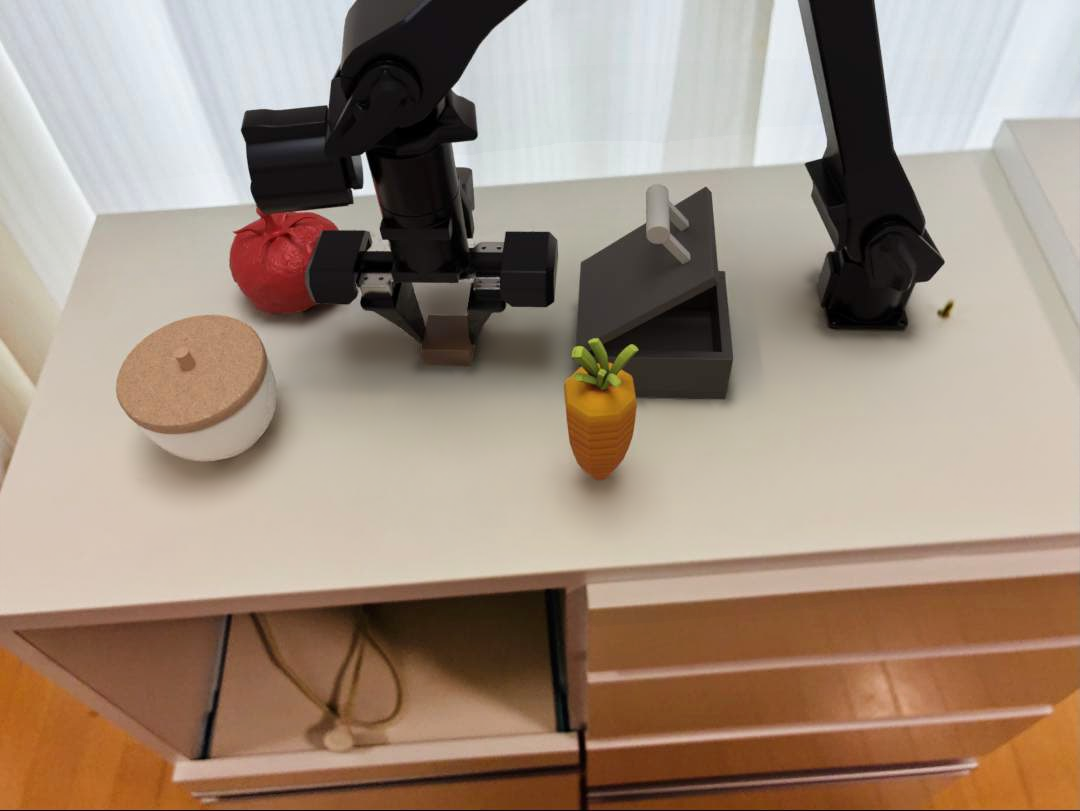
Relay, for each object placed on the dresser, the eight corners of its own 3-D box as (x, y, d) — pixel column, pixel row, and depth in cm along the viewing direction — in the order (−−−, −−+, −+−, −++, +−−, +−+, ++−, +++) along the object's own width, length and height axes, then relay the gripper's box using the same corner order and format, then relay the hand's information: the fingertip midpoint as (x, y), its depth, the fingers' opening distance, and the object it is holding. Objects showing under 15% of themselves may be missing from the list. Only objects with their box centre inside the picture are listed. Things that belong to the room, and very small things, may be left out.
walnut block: (476, 331, 71) (474, 315, 70) (471, 366, 69) (468, 350, 67) (431, 330, 72) (427, 314, 70) (424, 365, 69) (420, 349, 68)
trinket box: (294, 367, 70) (258, 288, 62) (293, 472, 63) (253, 397, 56) (166, 388, 69) (115, 310, 62) (152, 496, 63) (92, 424, 55)
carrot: (639, 458, 63) (651, 324, 51) (622, 513, 60) (629, 384, 48) (577, 443, 64) (573, 307, 52) (557, 496, 61) (548, 365, 49)
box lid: (712, 192, 61) (672, 148, 59) (720, 283, 56) (676, 239, 53) (586, 267, 68) (546, 231, 66) (581, 355, 63) (537, 320, 60)
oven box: (718, 311, 71) (725, 270, 67) (725, 399, 66) (733, 359, 62) (584, 309, 72) (583, 269, 68) (579, 395, 67) (578, 357, 63)
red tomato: (359, 314, 73) (333, 233, 66) (246, 337, 72) (207, 258, 65) (348, 242, 79) (323, 160, 72) (244, 263, 78) (207, 182, 71)
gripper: (558, 121, 61) (564, 274, 74) (314, 122, 63) (360, 272, 75) (549, 220, 55) (557, 370, 67) (275, 218, 56) (333, 366, 69)
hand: (449, 340), depth 70 cm, fingers closed on walnut block, 4 cm apart
